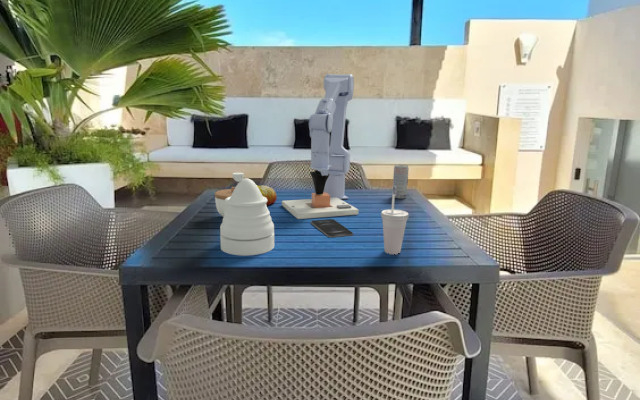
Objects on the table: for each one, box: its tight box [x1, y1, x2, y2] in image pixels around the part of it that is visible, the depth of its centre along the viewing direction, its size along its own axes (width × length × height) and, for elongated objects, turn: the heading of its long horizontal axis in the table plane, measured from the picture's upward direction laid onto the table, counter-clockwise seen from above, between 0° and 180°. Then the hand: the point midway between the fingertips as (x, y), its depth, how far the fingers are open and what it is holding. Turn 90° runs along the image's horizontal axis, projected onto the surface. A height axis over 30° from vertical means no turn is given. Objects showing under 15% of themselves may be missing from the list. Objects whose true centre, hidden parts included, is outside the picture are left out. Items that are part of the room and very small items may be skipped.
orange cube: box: [311, 192, 330, 208], centre depth 140 cm, size 5×5×5 cm
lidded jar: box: [214, 186, 236, 219], centre depth 129 cm, size 11×11×9 cm
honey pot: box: [219, 172, 275, 256], centre depth 103 cm, size 13×13×18 cm
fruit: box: [256, 184, 278, 206], centre depth 148 cm, size 11×10×8 cm
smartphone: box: [310, 218, 354, 239], centre depth 120 cm, size 8×1×15 cm
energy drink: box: [391, 164, 409, 200], centre depth 161 cm, size 5×5×12 cm
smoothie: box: [380, 194, 410, 255], centre depth 101 cm, size 6×6×14 cm
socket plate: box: [281, 197, 360, 220], centre depth 141 cm, size 18×20×2 cm
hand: (319, 193), depth 140 cm, fingers closed
